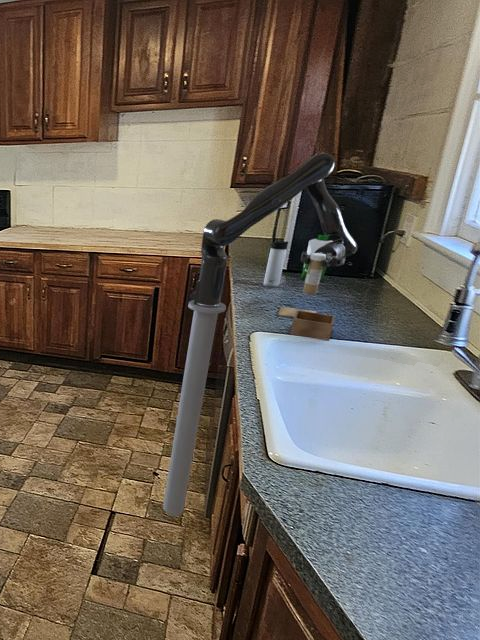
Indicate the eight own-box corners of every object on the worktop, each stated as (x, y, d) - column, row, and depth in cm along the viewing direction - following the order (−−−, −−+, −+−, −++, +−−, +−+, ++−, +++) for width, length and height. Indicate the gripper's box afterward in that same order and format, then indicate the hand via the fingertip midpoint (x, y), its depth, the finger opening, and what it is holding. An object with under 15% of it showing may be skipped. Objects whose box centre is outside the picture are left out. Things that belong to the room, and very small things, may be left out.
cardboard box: (289, 334, 175) (293, 318, 173) (293, 325, 183) (297, 310, 181) (328, 340, 169) (333, 324, 167) (330, 331, 178) (334, 315, 176)
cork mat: (277, 315, 194) (277, 314, 194) (281, 307, 203) (281, 306, 203) (314, 321, 188) (314, 319, 188) (316, 312, 197) (317, 311, 197)
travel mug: (272, 288, 230) (282, 242, 222) (259, 285, 235) (269, 239, 228) (282, 287, 232) (292, 241, 224) (269, 283, 238) (279, 238, 230)
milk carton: (325, 279, 246) (336, 236, 238) (318, 282, 240) (329, 238, 233) (305, 276, 252) (315, 233, 244) (298, 279, 246) (308, 235, 238)
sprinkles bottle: (303, 290, 186) (312, 252, 180) (317, 292, 183) (327, 253, 178) (301, 293, 182) (310, 254, 177) (316, 295, 180) (325, 256, 175)
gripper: (308, 241, 191) (294, 248, 180) (354, 247, 182) (342, 254, 171) (304, 262, 194) (289, 270, 183) (348, 268, 185) (336, 277, 174)
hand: (315, 262), depth 177 cm, fingers closed on sprinkles bottle, 4 cm apart
